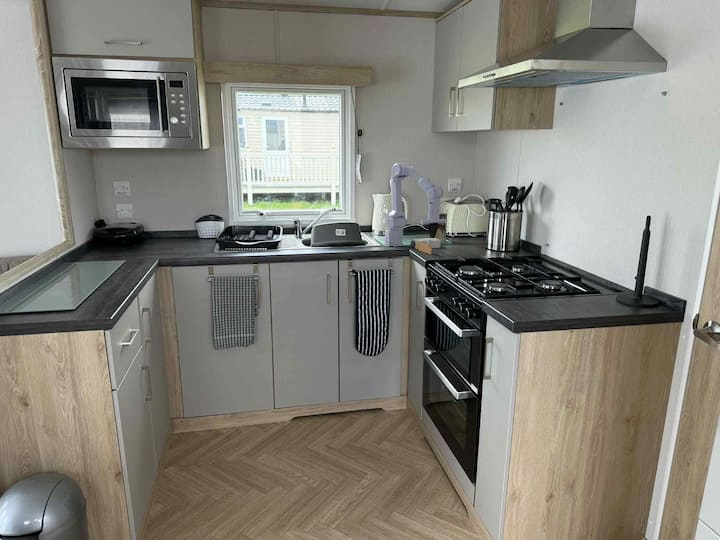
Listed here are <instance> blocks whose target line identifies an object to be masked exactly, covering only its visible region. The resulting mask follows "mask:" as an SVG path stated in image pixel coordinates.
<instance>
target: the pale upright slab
mask: <svg viewBox="0 0 720 540" xmlns="http://www.w3.org/2000/svg"><path fill="white" fill-rule="evenodd" d="M427 240H431V247H432V249H437V248H438V249H439V248H441V244H442V243H441V240H438V239H436V238H429V237H428V238H411V239H410V247H411V248H412V247H413V248H412V249H415V248H416V250H417V242H420V243H423V244H426V245H427Z"/></svg>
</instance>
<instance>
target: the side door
mask: <svg viewBox="0 0 720 540" xmlns="http://www.w3.org/2000/svg"><path fill="white" fill-rule="evenodd" d="M417 249H418V250H417ZM417 249H416V250H417V251H420V252H423V253H425V254H427V253H428V255H430V254H431V255H433V248H432V247H431V240H427V245H426V244H423V243H420V242H417Z"/></svg>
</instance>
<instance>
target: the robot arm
mask: <svg viewBox="0 0 720 540" xmlns="http://www.w3.org/2000/svg"><path fill="white" fill-rule="evenodd" d="M408 177H410V178H411V179H413V180H414V181H415V182H417V183H418V186H419V188H420V189H421V190H422V191H424V192H425V193H426V196H427V202H428V208H427V219H421V220H420V225H422V226H426V227H427V229H428V235H429V234H430V238H435V235H436V233H437V230H438V228H439V227H440V224H439V223H446V219H439V215H440V213H441V198H442V197H443V195H444V189H443V188H442V187H441V186H440V185H439V186H438V185H436V184H435V183H433V182H432V181H431V180H430V178H429V177H423V175H421V174H420V173H419V172H418V171H417V170H416V169H415V167H414V165H412V164H411V163H410V162H405V163H398V162H397V163H395V164H393V165H392V167H391V177H390V188H391V189H390V194H391V195H390V196H391V197H390V198H391V211H390V212H389V213H388V214H387V220H386V225H387V228H388V229H385V232H384V243H383V244H384V245H385V246H387V247H389V246H393V247H405V246H406V244H404V243H403V242H404V241H403V238H404V229H405V227H406V226H407V218H406V214H405V212H404V211H403V207H402V206H403V205H402V204H403V202H402V201H403V198H402V190H403V189H402V182H403V181H404V179H406V178H408ZM431 222H435V223H431Z"/></svg>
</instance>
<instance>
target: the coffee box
mask: <svg viewBox="0 0 720 540" xmlns="http://www.w3.org/2000/svg"><path fill="white" fill-rule="evenodd" d="M439 219H446V223H439V224H440V227H439V228H438V230H437V233H436V235H435V238H436V239H438V240H441V243H440V244H445V243H447V228H448V227H447V224H448V213H443V212H440V215H439ZM431 223H435V222H431ZM428 235H429V236H428V238H430V234H429V233H428Z"/></svg>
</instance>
